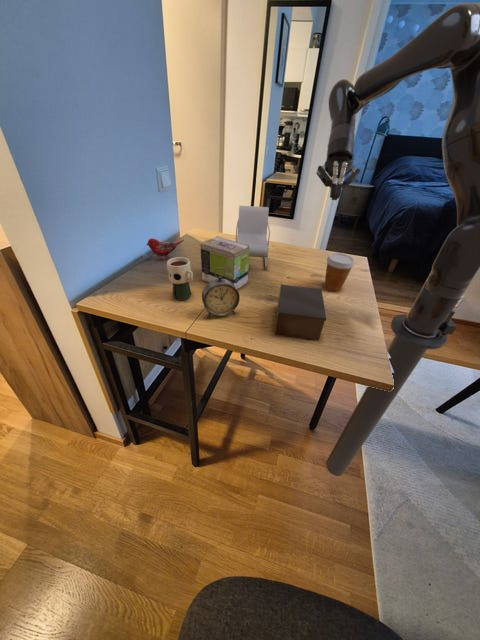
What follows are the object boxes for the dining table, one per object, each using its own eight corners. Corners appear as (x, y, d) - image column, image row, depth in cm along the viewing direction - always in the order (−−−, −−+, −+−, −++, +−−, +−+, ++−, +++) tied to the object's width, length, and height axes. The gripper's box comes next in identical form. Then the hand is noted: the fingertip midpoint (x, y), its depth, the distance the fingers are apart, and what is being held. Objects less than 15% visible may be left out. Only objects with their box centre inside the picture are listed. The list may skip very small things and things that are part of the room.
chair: (264, 248, 126) (269, 205, 114) (266, 272, 107) (272, 223, 95) (237, 246, 126) (238, 204, 114) (234, 270, 107) (235, 221, 95)
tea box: (248, 282, 99) (251, 244, 90) (233, 293, 93) (234, 254, 84) (217, 270, 106) (217, 234, 97) (201, 280, 99) (199, 242, 90)
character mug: (163, 295, 89) (157, 260, 81) (177, 287, 94) (173, 253, 86) (187, 306, 85) (183, 270, 77) (201, 297, 90) (199, 262, 82)
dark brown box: (318, 340, 74) (325, 319, 70) (274, 334, 76) (278, 312, 71) (315, 311, 86) (320, 291, 81) (277, 306, 87) (280, 286, 82)
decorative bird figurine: (147, 262, 109) (143, 238, 103) (183, 252, 119) (181, 230, 113) (151, 264, 107) (146, 241, 101) (187, 254, 117) (185, 232, 111)
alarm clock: (204, 321, 79) (202, 273, 69) (201, 311, 83) (199, 264, 73) (239, 316, 82) (241, 269, 72) (234, 307, 86) (236, 261, 76)
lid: (325, 321, 69) (326, 318, 68) (278, 314, 70) (278, 312, 70) (320, 291, 81) (321, 288, 81) (280, 286, 82) (280, 284, 82)
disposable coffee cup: (323, 279, 104) (331, 250, 97) (348, 286, 100) (358, 257, 93) (316, 289, 97) (324, 259, 90) (342, 297, 94) (352, 266, 86)
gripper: (321, 134, 76) (315, 188, 74) (368, 137, 75) (362, 192, 73) (316, 154, 84) (310, 203, 81) (358, 157, 82) (353, 207, 80)
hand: (335, 198), depth 77 cm, fingers closed
